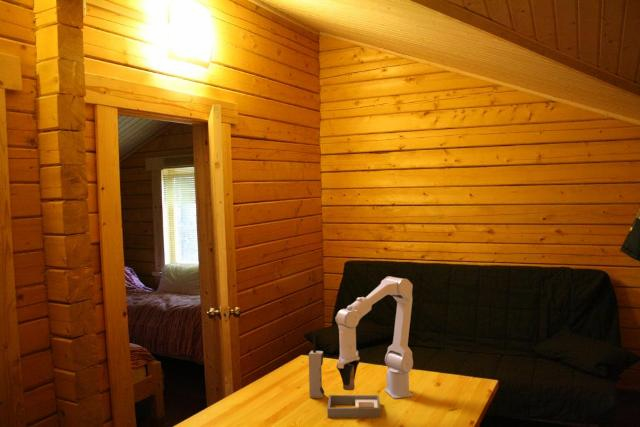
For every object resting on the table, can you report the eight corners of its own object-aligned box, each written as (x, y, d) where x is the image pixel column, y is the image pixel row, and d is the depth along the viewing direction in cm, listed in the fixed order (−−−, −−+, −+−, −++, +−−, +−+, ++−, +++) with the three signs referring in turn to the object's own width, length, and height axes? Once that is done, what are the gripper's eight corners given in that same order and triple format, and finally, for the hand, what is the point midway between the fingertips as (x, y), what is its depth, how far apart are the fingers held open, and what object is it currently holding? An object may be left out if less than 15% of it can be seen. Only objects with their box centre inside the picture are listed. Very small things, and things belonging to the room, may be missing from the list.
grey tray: (327, 417, 176) (327, 408, 176) (329, 403, 188) (329, 395, 188) (380, 417, 175) (380, 408, 175) (379, 403, 187) (378, 395, 187)
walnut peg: (341, 387, 183) (340, 364, 183) (352, 385, 184) (351, 363, 184) (345, 391, 179) (344, 368, 179) (356, 389, 180) (355, 366, 180)
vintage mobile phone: (322, 398, 193) (321, 331, 192) (309, 397, 194) (307, 331, 193) (324, 394, 197) (322, 329, 196) (311, 394, 198) (310, 328, 197)
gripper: (350, 351, 173) (351, 391, 173) (365, 339, 186) (366, 377, 186) (331, 348, 176) (332, 388, 176) (347, 337, 189) (348, 374, 189)
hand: (348, 382), depth 182 cm, fingers closed on walnut peg, 4 cm apart
